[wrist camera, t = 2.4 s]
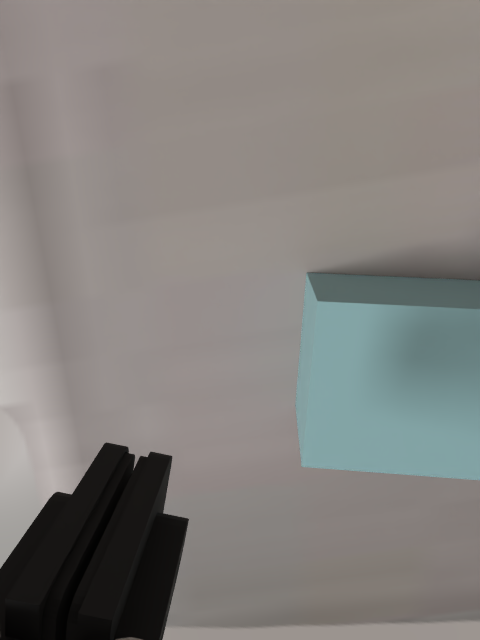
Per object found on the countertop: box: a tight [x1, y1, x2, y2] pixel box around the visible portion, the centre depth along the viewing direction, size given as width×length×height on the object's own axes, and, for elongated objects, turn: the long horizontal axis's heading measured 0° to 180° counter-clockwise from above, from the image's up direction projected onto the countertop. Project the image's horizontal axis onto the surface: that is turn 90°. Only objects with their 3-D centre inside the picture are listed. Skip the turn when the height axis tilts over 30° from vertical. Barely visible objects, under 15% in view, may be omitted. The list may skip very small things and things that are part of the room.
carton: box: [295, 273, 480, 480], centre depth 21 cm, size 8×12×6 cm
